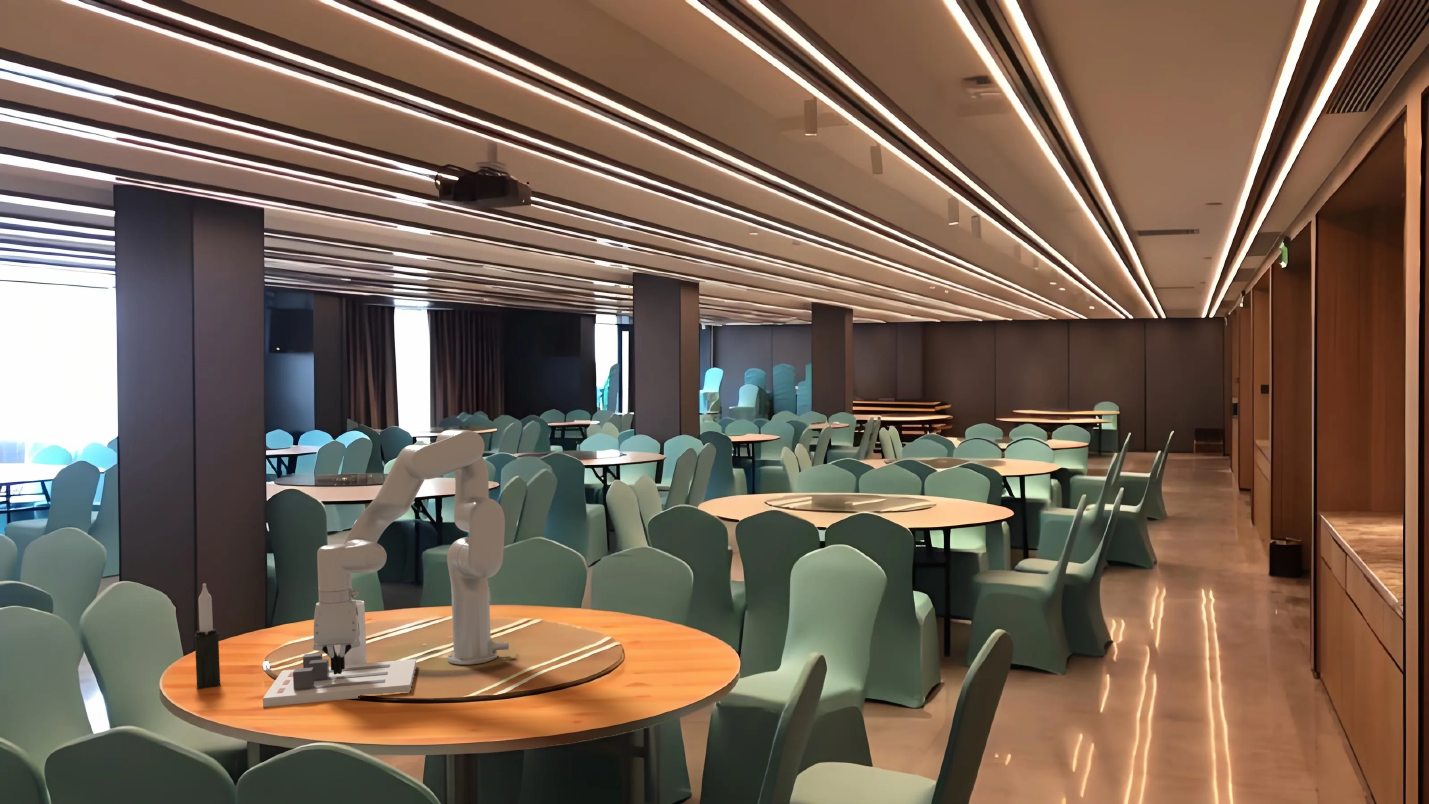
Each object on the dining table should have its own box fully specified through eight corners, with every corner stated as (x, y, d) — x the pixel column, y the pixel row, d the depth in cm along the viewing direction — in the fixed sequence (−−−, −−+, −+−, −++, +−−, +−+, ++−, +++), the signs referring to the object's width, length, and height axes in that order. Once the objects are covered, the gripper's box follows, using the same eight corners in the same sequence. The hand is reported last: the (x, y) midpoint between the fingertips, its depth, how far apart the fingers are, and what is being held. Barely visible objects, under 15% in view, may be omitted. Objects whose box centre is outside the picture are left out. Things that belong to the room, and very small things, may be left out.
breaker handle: (329, 675, 252) (328, 658, 252) (327, 678, 249) (326, 662, 249) (311, 677, 252) (310, 660, 251) (309, 680, 249) (308, 663, 249)
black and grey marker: (197, 689, 253) (192, 586, 252) (196, 684, 257) (192, 582, 257) (220, 685, 255) (216, 583, 255) (219, 681, 260) (215, 580, 259)
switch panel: (416, 666, 267) (415, 641, 267) (410, 693, 244) (409, 665, 243) (282, 678, 260) (281, 652, 260) (263, 706, 237) (262, 678, 236)
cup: (355, 669, 266) (353, 606, 266) (326, 668, 268) (324, 606, 268) (372, 661, 274) (370, 600, 274) (344, 660, 276) (341, 599, 276)
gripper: (369, 591, 256) (372, 666, 257) (304, 596, 253) (307, 671, 253) (366, 597, 249) (369, 674, 249) (299, 602, 246) (302, 679, 246)
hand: (338, 672), depth 251 cm, fingers closed
